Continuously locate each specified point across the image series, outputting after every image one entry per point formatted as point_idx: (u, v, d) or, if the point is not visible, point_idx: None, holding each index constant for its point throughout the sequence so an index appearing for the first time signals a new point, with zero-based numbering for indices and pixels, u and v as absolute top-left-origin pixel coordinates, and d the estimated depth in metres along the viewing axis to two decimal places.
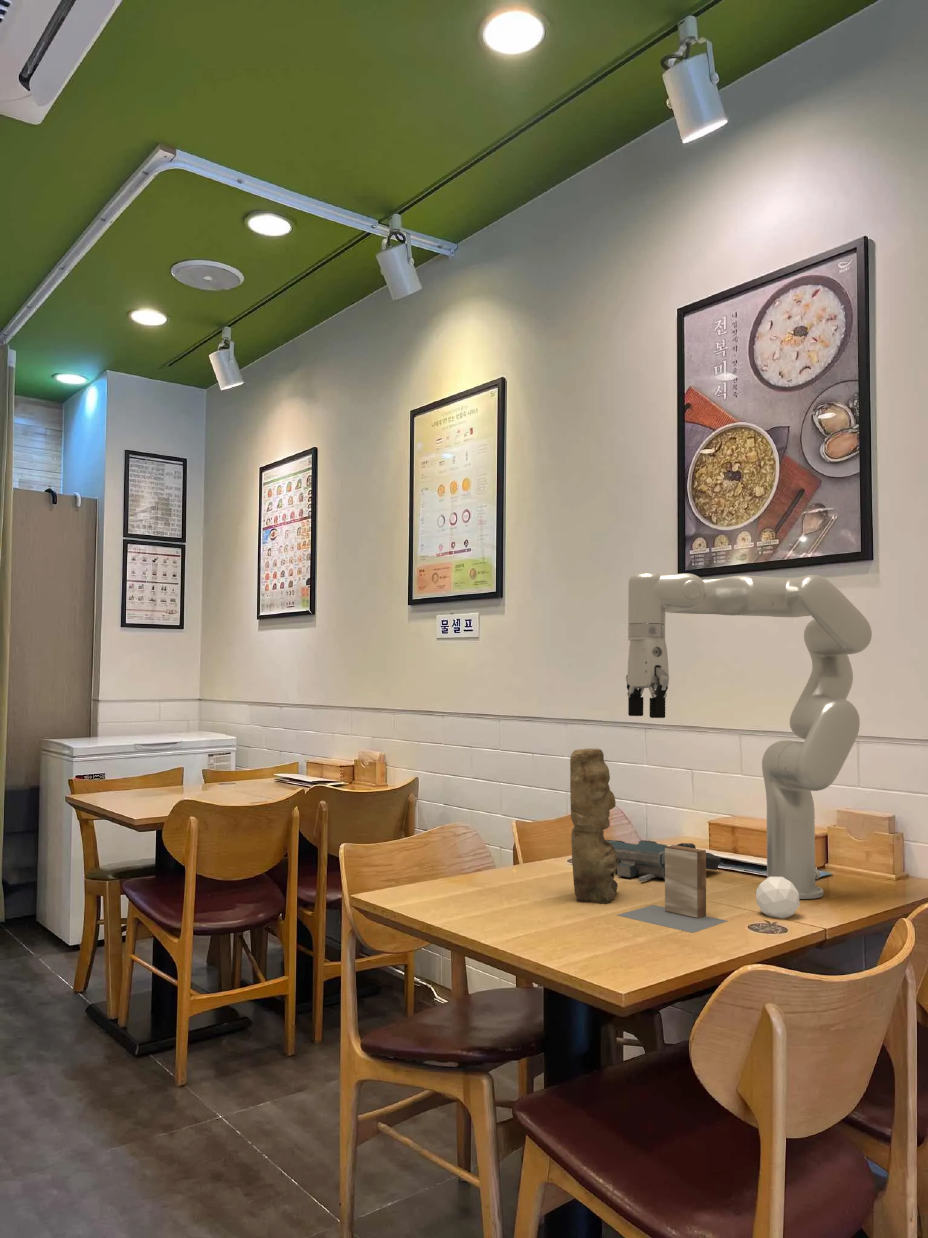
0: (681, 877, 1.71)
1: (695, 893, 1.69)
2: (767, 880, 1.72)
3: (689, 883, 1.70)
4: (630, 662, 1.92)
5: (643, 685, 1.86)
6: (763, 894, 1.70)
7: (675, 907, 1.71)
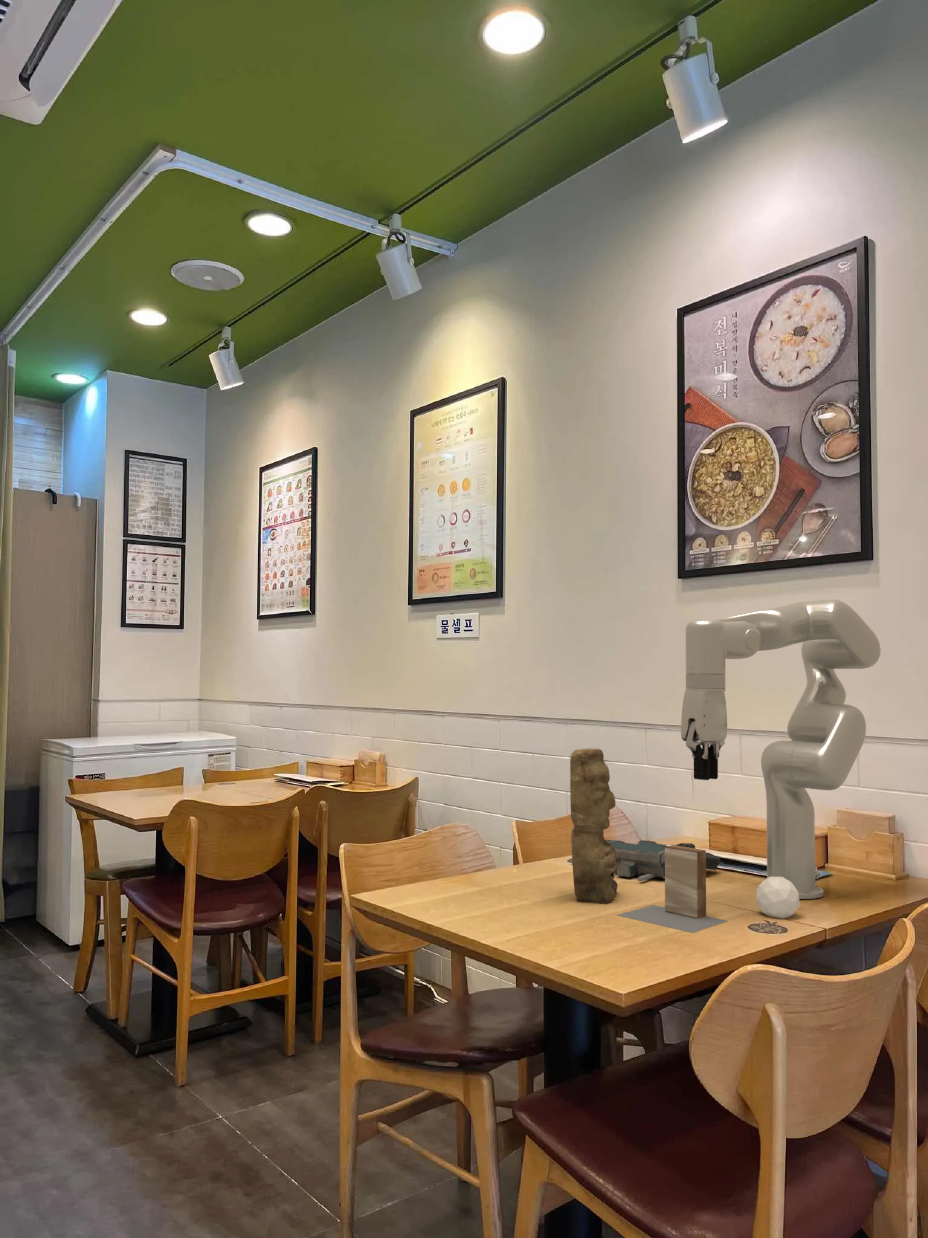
0: (681, 877, 1.71)
1: (695, 893, 1.69)
2: (767, 880, 1.72)
3: (689, 883, 1.70)
4: (709, 715, 1.76)
5: (722, 739, 1.80)
6: (763, 894, 1.70)
7: (675, 907, 1.71)
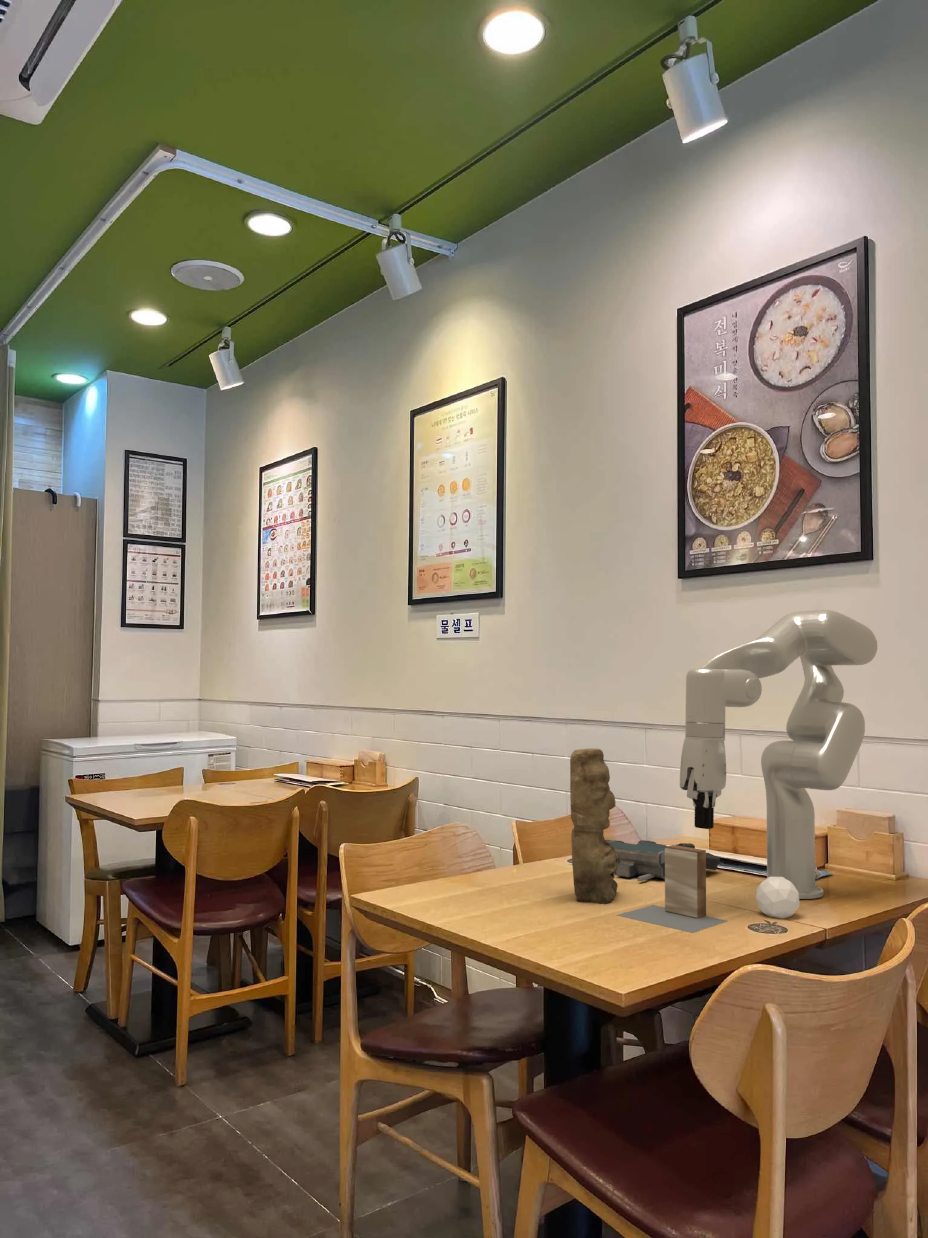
0: (681, 877, 1.71)
1: (695, 893, 1.69)
2: (767, 880, 1.72)
3: (689, 883, 1.70)
4: (708, 764, 1.75)
5: (721, 788, 1.79)
6: (763, 894, 1.70)
7: (675, 907, 1.71)
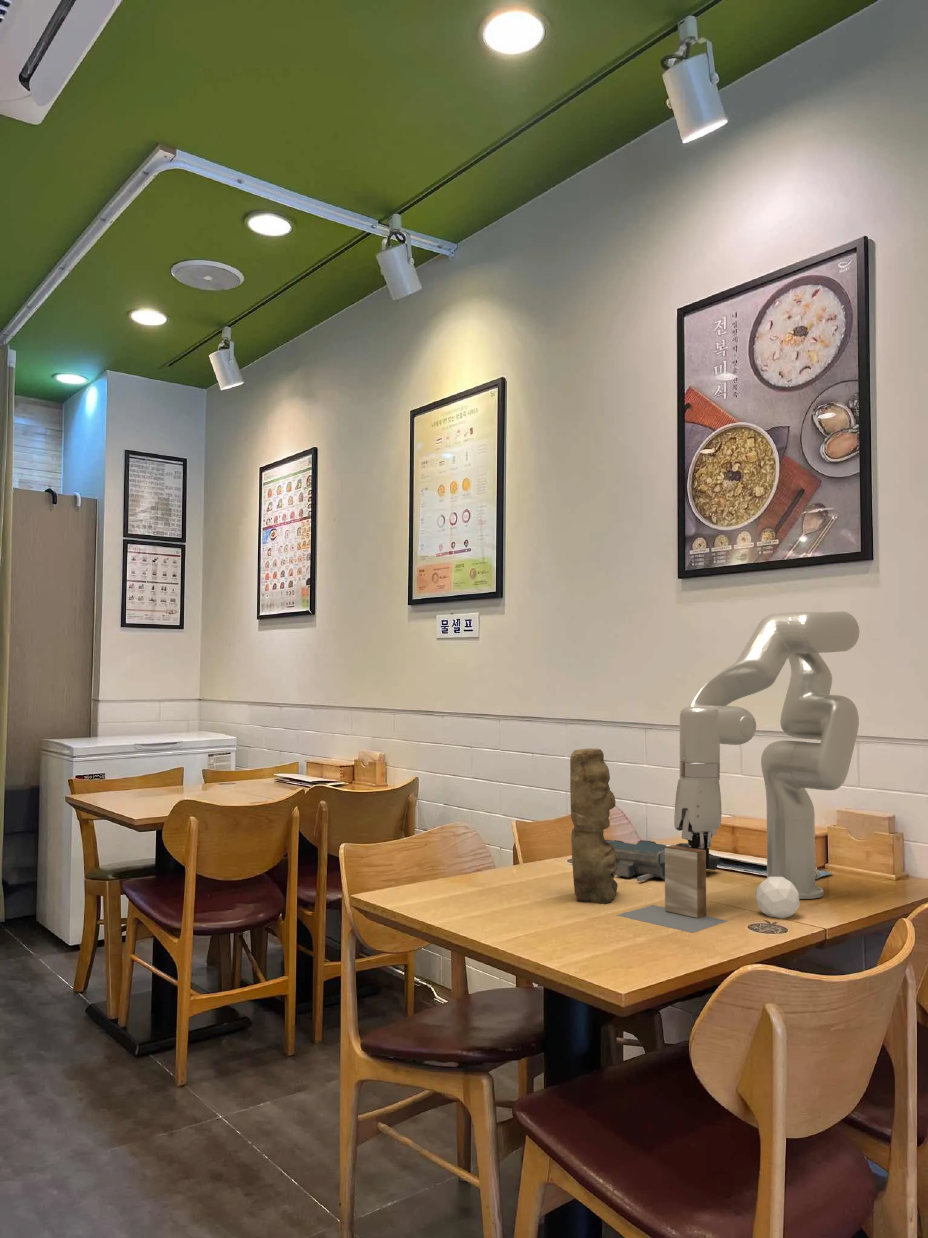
0: (681, 877, 1.71)
1: (695, 893, 1.69)
2: (767, 880, 1.72)
3: (689, 883, 1.70)
4: (702, 805, 1.73)
5: (716, 828, 1.77)
6: (763, 894, 1.70)
7: (675, 907, 1.71)
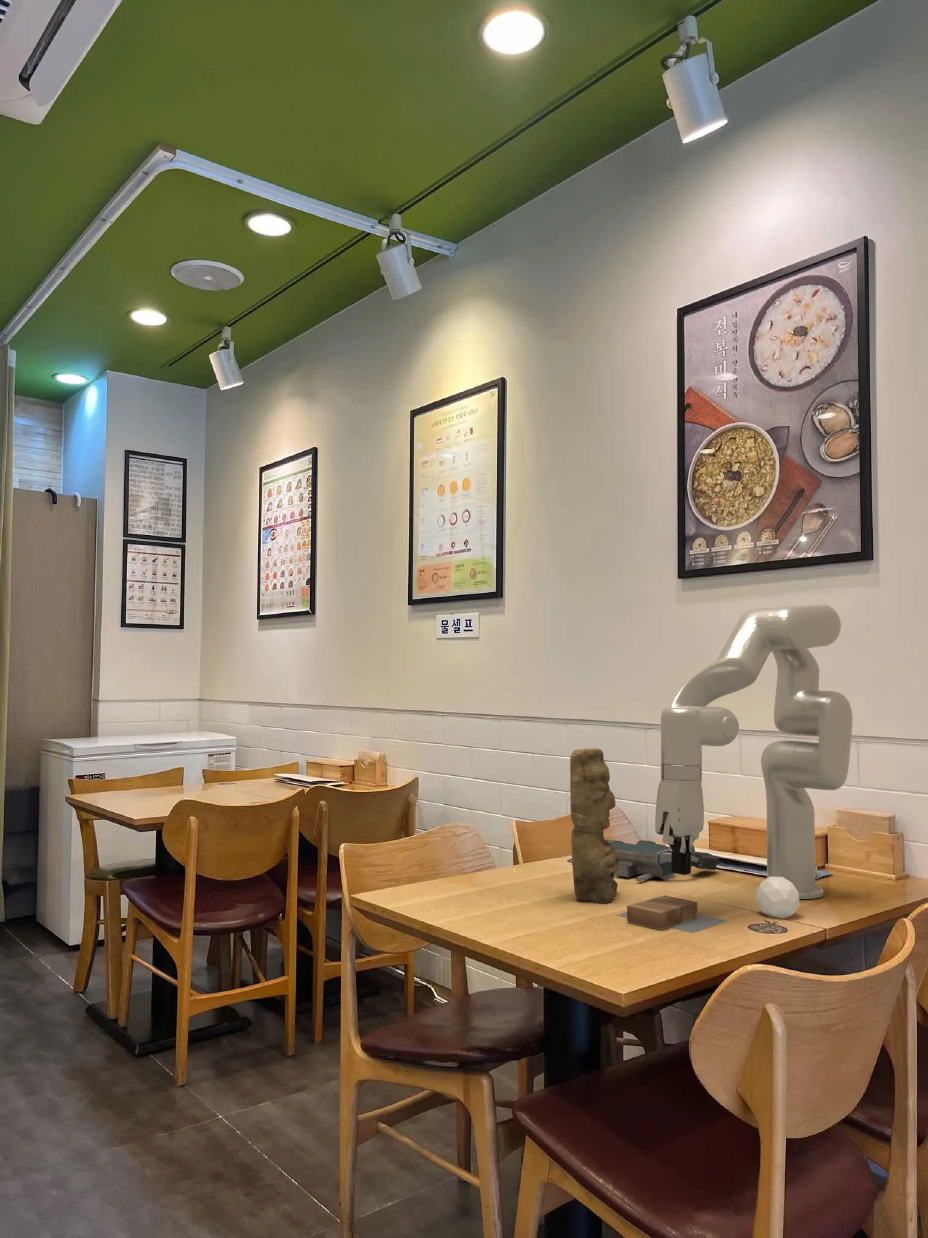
0: None
1: (682, 922, 1.65)
2: (767, 880, 1.72)
3: None
4: (684, 808, 1.69)
5: (698, 831, 1.72)
6: (763, 894, 1.70)
7: None
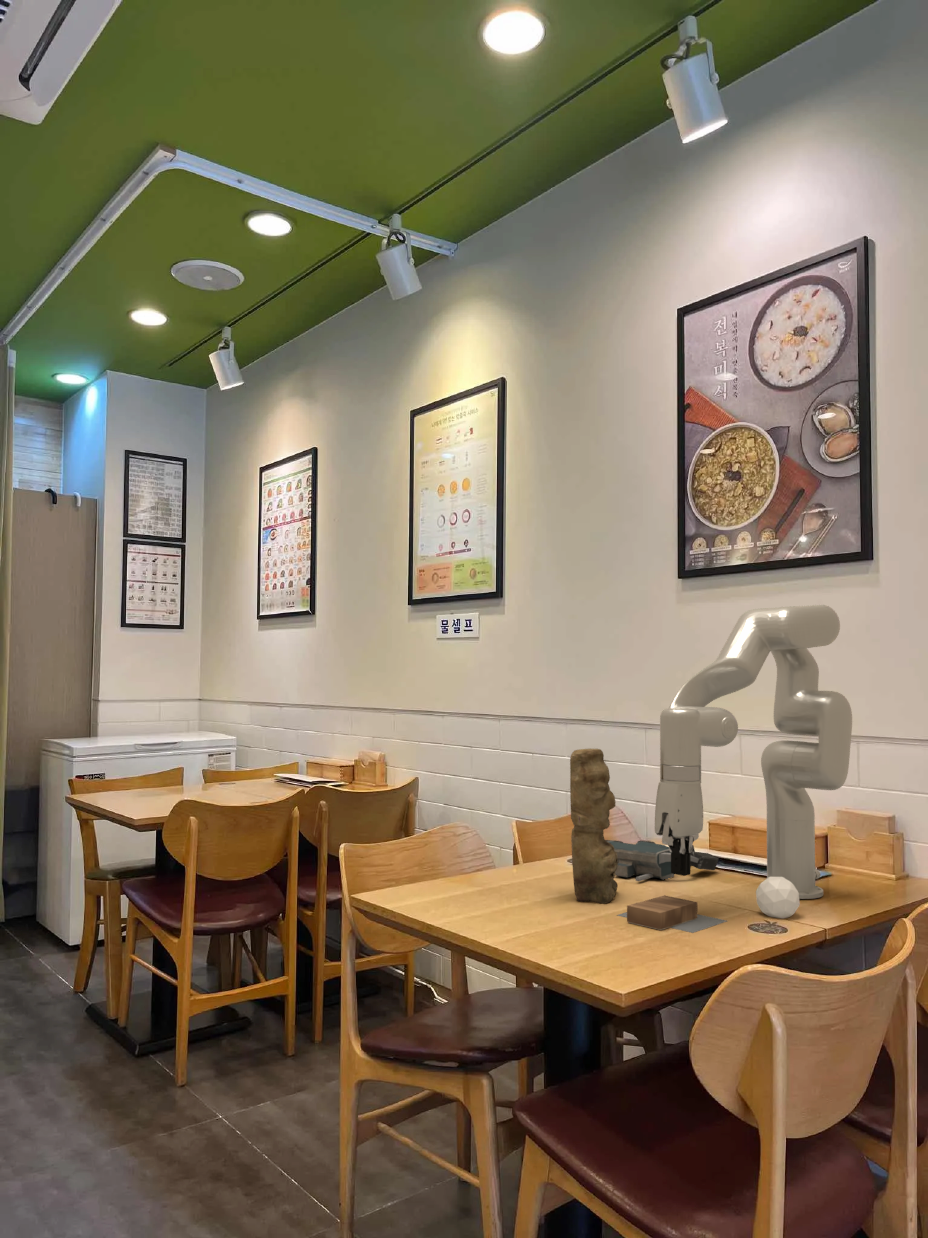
0: None
1: (682, 922, 1.65)
2: (767, 880, 1.72)
3: None
4: (683, 809, 1.68)
5: (697, 832, 1.72)
6: (763, 894, 1.70)
7: None
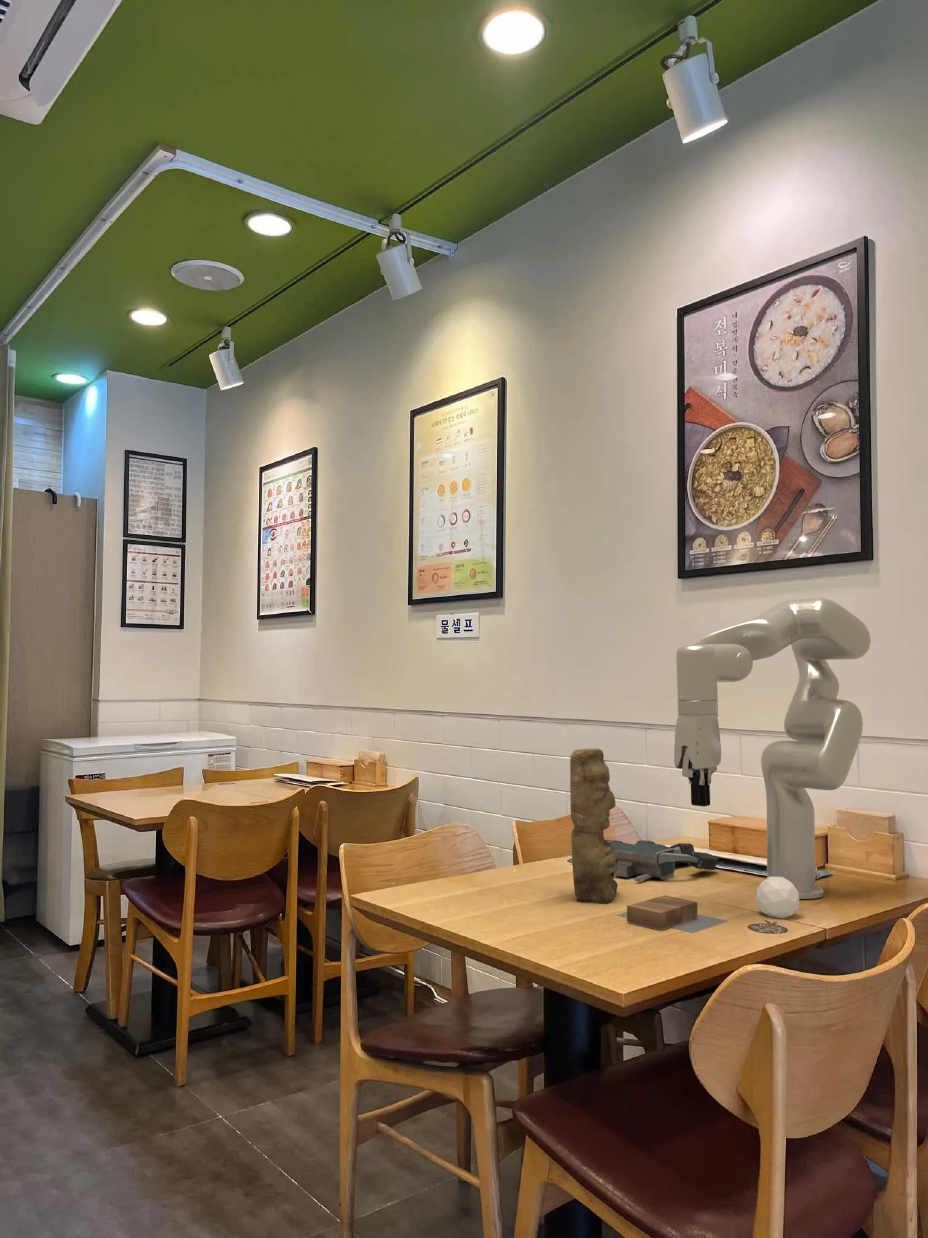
0: None
1: (682, 922, 1.65)
2: (767, 880, 1.72)
3: None
4: (702, 742, 1.74)
5: (716, 764, 1.77)
6: (763, 894, 1.70)
7: None
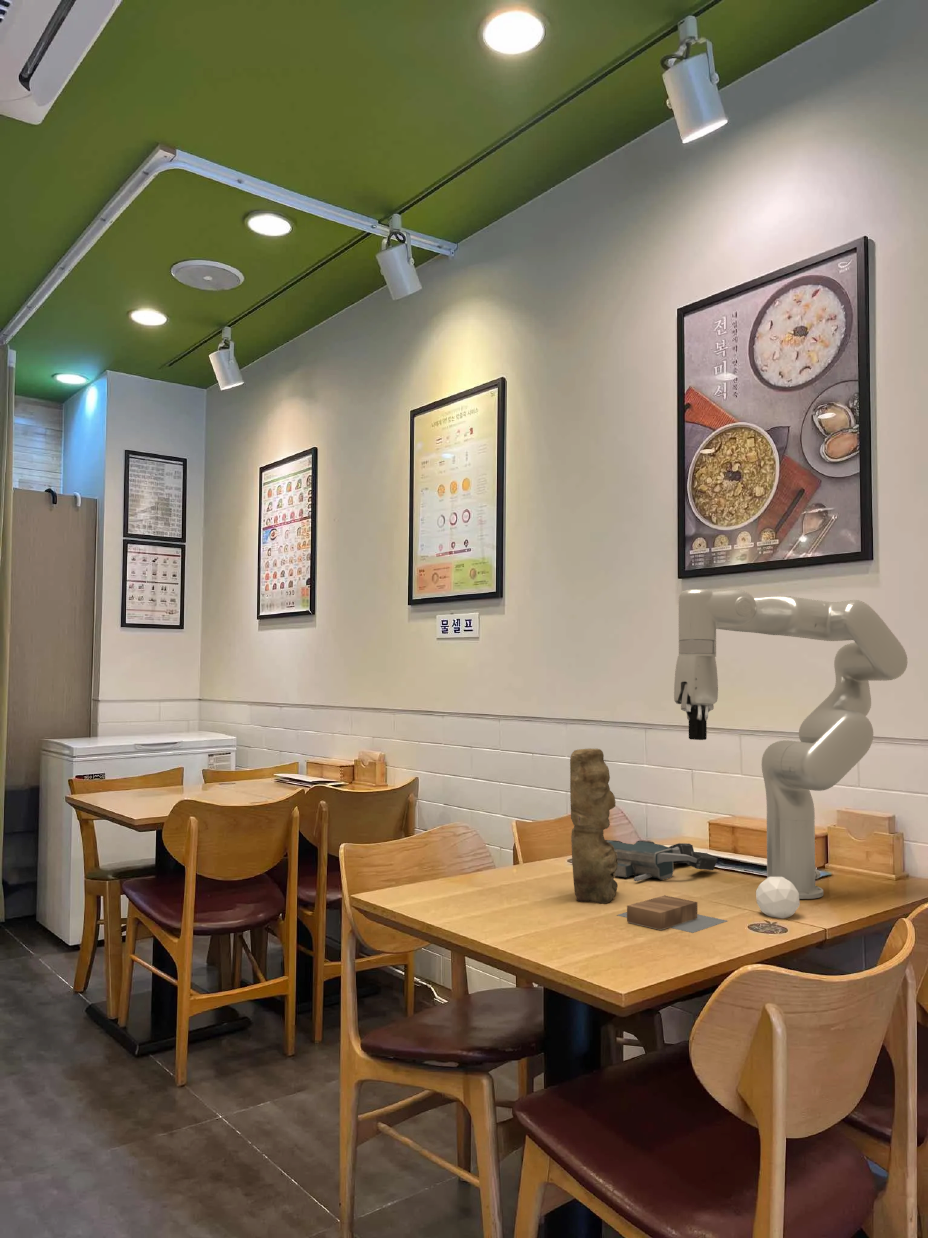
0: None
1: (682, 922, 1.65)
2: (767, 880, 1.72)
3: None
4: (700, 678, 1.86)
5: (713, 702, 1.89)
6: (763, 894, 1.70)
7: None
